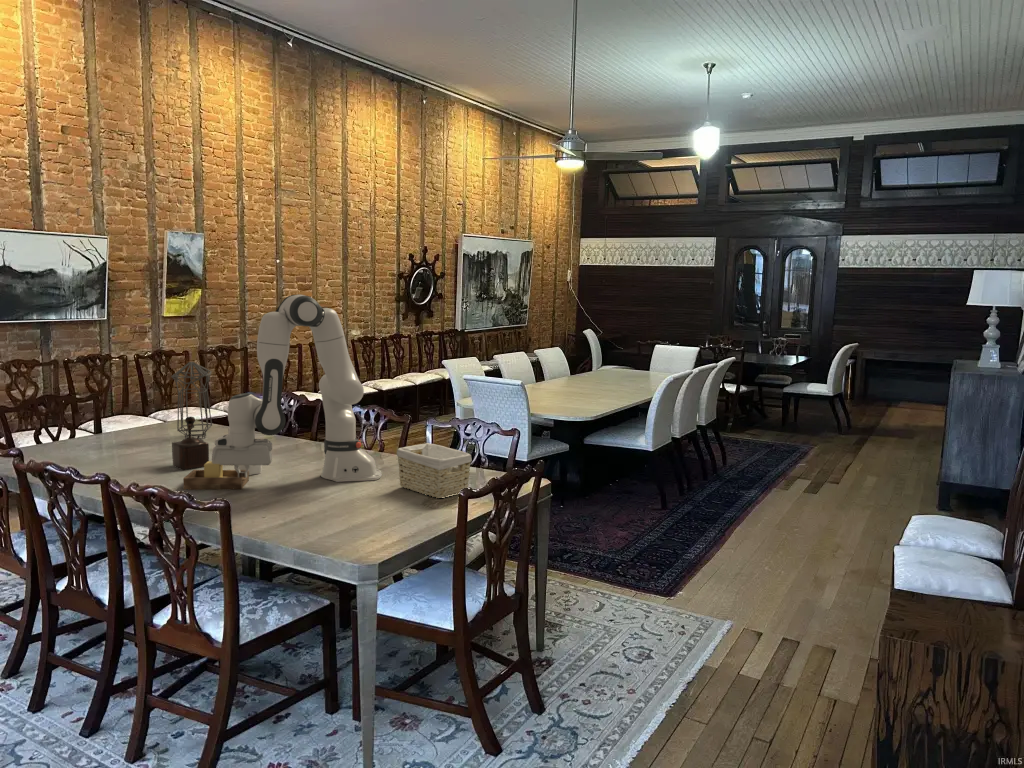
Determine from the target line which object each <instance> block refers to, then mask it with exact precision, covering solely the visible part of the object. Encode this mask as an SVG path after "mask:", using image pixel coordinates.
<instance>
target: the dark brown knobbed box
mask: <svg viewBox="0 0 1024 768" xmlns="http://www.w3.org/2000/svg"><path fill="white" fill-rule="evenodd" d="M184 422H185V423H186V425H187V424H188V427H187V426H186V428H185V429H184V428H183V431H184V432H186V431H187V432H188V431H189V436H188V438H185V437H184V439H181V440H179V441H174V442H171V455H172V456H171V457H172V466H173V467H175V468H177V469H179V470H182V471H189V470H197V469H202V468H204V464H205V463H207V462H208V461H210V453H209V450H210V444H209V443H208V442H207V441H204V439H198V438H200V435H199V436H197V437H196V436H195V437H194V436H191V434H192V432H191V430H193V429H194V428H195V426H194V425H195V424H194V423H195V422H196V418H195V417H194V416H188V417H187V416H186V417H185V419H184ZM183 431H182V432H183Z"/></svg>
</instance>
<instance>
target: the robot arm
mask: <svg viewBox="0 0 1024 768" xmlns="http://www.w3.org/2000/svg"><path fill="white" fill-rule="evenodd" d="M259 323H260V324H259V328H258V332H257V342H256V356H257V362H258V364H259V367H260V370H261V374H262V381H263V382H262V383H263V385H262V399H261V398H259V397H258V396H257V397H256V396H255V395H253V394H252V393H249V392H245V393H238V394H235V395H233V396H231V398H230V399H229V401H228V406H227V408H228V409H227V420H228V424H229V428H228V432H227V433H228V434H223V435H221V436H218V437H217V438H216V439H215V440H214V447H213V449H212V453H211V461H212V463H213V464H220V465H223V466H233V467H234V469H233V470H236V472H237V473H238V478H247V472H248V470H249V469H250V465H262V466H269V465H271V463H272V462H273V453H272V450H273V443H272V442H271V440H269V439H268V438H267V439H266V438H265V439H263V438H262V439H261V438H260V439H259V438H256V431H255V430H257V431H258V432H259V433H261V434H262V435H264V436H275V435H277V434H279V433H280V432H281V431H283V429H284V428H285V426H286V416H285V413H284V410H283V407H282V396H283V395H282V394H283V393H282V392H283V381H284V380H283V379H284V374H285V370H286V367H287V366H286V365H287V363H288V358H289V353H290V346H291V334H292V331H293V330H294V328H296V327H309V330H310V331H311V333H312V337H313V340H314V341H313V342H314V345H315V350H316V354H317V358H318V363H319V364H320V366H321V367H322V369H323V372H324V374H323V375H322V377H321V378H320V379H319V381H318V382H319V383H318V388H319V391H320V394H321V399H322V400H321V401H322V406H323V412H324V418H325V439H324V442H323V453H324V460H323V467H322V472H321V475H320V476H321V478H322V479H326V480H330V481H334V482H337V483H338V482H339V483H341V482H359V481H360V482H361V481H365V482H366V481H376V480H379V479H380V478H381V477H382V475H383V474H382V471H381V470H380V469H378V468H377V466H376V461H375V458H374V457H373V456H371V455H370V454H369V453H367V452H366V451H365V450H364V449H362V442H361V439H358V438H357V435H356V434H357V433H356V431H357V429H356V425H357V423H356V422H357V420H356V416H355V413H354V411H353V406H352V405H356V404H358V403H359V402H360V401H361V400H362V398H364V394H365V393H364V392H365V389H364V386H363V384H362V383H361V381H360V379H359V377H358V374H357V372H356V369H355V367H354V364H353V362H352V360H351V357H350V356H351V355H350V353H349V350H348V345H347V340H346V336H345V332H344V328H343V325H342V321H341V319H340V317H339V315H338V312H337V311H336V310H335V309H333V308H331V307H329V308H328V307H322V306H321V305H320V303H319V302H318V301H317V300H316V299H315V298H313V297H311V296H308V295H305V294H291V295H288V296H286V297H284V299H283V300H282V301H281V302H280V304H279V306H278V307H277V309H275V311H269V312H267V313H264V314H263V316H262V317H261V320H260V322H259ZM240 465H245V468H247V469H246V471H245V472H241V471H240V469H239V467H240Z"/></svg>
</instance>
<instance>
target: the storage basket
mask: <svg viewBox="0 0 1024 768" xmlns="http://www.w3.org/2000/svg"><path fill="white" fill-rule="evenodd" d="M396 451H397V452H396V457H397V463H398V471H399V474H398V476H399V477H398V478H399V482H400V483H399V485H400V486H399V487H402V488H403V487H404V489H406V488H407V490H409V489H410V491H413V492H417V493H418V492H419V493H420V494H421V493H422V494H421V495H423V494H426V495H425V496H427V495H429V496H428V497H431V496H432V498H433V497H436V498H435V499H437V498H442V497H446V496H448V495H452V494H456V493H457V496H459V495H458V493H459V492H460V490H461V489H463V488H467V487H468V488H469V481H470V473H471V472H470V468H471V462H472V461H473V460H472V455H471V454H470V453H468V452H465V451H462V450H458V449H455V448H450V447H448V446H443V445H441V444H435V443H430V442H427V443H422V444H421V443H420V444H415V445H409V446H404V447H399V448H398V449H397V450H396ZM419 453H420V454H419ZM419 493H418V494H419Z"/></svg>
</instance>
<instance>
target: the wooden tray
mask: <svg viewBox="0 0 1024 768" xmlns="http://www.w3.org/2000/svg"><path fill="white" fill-rule="evenodd" d="M240 471H241V472H245V471H246V470H240ZM249 477H250V475H249V470H248V472H247V478H238V473H237V472H236V470H235V469H223V477H204V469H192V471H190V472H189V473H188V474H187V475H186V476H184V477H183V480H182V481H183V490H186V489H188V490H196V491H197V490H199V491H201V490H203V491H205V490H209V491H211V490H212V491H214V490H217V491H218V490H220V491H221V490H226V491H227V490H228V491H229V490H232V491H233V490H234V491H235V490H236V491H238V490H243V488H244V487H245V486H246V484H247V483H248V482H249V480H250V478H249Z"/></svg>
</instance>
